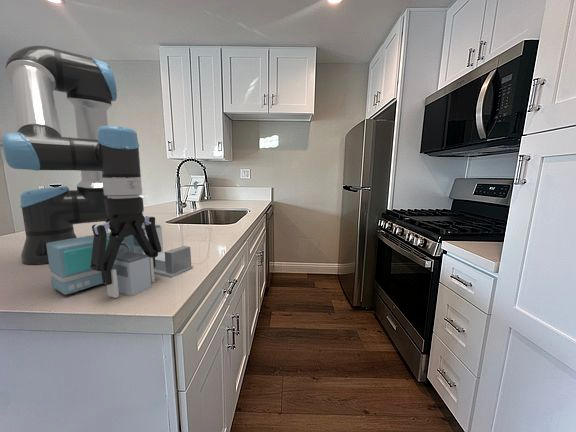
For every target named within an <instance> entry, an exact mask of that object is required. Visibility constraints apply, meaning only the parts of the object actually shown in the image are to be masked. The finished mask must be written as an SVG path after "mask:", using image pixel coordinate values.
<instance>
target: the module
mask: <svg viewBox="0 0 576 432" xmlns="http://www.w3.org/2000/svg"><path fill="white" fill-rule="evenodd" d="M112 269H115V270H116V274H117V284H118V293H120V294H124V295H128V296H130V297H133V296H135V295H138V294H140V293H142V292H144V291H147V290H149V289H151V288H152V282H151V276H150V264H149V257H148V255H144V254H139V253H134V252H126V253H123V254H119V255H117V256H116V259H115V262H114V264H113V267H112Z"/></svg>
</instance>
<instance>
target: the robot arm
mask: <svg viewBox="0 0 576 432" xmlns="http://www.w3.org/2000/svg"><path fill="white" fill-rule="evenodd" d="M5 74H6V78H7V79H8V81H9V82H10V84H11V85H12V89H13V90H12V91H13V92H12V93H13V104H14V115H15V117H14V118H15V128H16V132H5V133H3V135H2V137H1V139H2V148H3V154H4V158H5V162H6V164H7V165H8V167H10V168H12V169H16V170H29V171H30V170H31V171H36V172H37V171H38V172H39V171H77V172H78V171H79V172H81V173H80V175H81V180H80V181H79V182H78V183H77V184H76V190H75V189H74V190H73V189H72V190H70V188H69V186H67V185H65V186H64V185H63V186H52V187H46V188H45V187H44V188H43V187H42V188H35V189H29V190H26V191H23V192H22V193H21V194H20V209H21V212H22V219H23V224H24V225H23V226H24V231H25V232H24V233H25V241H24V244H23V247H22V251H21V255H20V259H21V263H22V264H25V265H44V264H45V265H46V264H49V260H48V254H47V247H46V243H48V242H54V241H60V240H66V239H72V238H78V236H77V235H76V233H75V230H74V225H78V224H80V225H81V224H90V223H100V222H101V224H93V225H92V226H91V230H92V233H93V234H92V235H94V240H93V248H92V257H91V266H90V268H91V269H92V270H96V271H101V273H102V281H103V283H102V284H103V285H106V290H107V296H108V297H110V298H114V299H117V298H119V296H120V294H119V293H120V292H118V284H117V274H116V270H115V269H112V267H113V264H114V262H115V259H116V256H117V253H118V250H119V248H120V245H121V242H122V241H123V240H124V238H125V237H128V236H130V235H133V236H134V237H135V238H136V240H137V242H138V243H139V245H140V246H141V248H142V250H143V251H144V253H145V254H146V255H148V257H149V264H150V276H151V283H155V274H154V268H155V266H156V264H155V257H157V256H158V252H161V250H162V249H161V245H160V242H159V238H158V235H157V231H156V227H155V225H156V218H155V217H154V216H150V215H149V216H148V215H147V216H144V214H143V213H144V210H145V209H144V199H143V197H141V195H142V194H143V187H142V176H141V163H140V161H141V160H140V149H139V148H140V143H139V139H138V133H137V132H136V130H134V129H133V128H130V127H125V126H118V125H117V126H116V125H108V110H109V109H110V108H112V106H113V104H112V102H116V101H117V99H118V95H117V93H118V91H117V83H116V79H115V75H114V73H113V70H112V68H111V67H110V65H109V64H108V63H107V62H105V61H102V60H100V59H96V58H93V56H92V57H90V56H86V55H82V54H79V53H73V52H69V51H66V50H61V49H59V48H58V49H57V48H54V47H51V46H47V45H29V46H27V47H23V48H20V49H18V50H16V51H15V52H13V53H12V54H11V55H10V56H9V57H8V59H7V61H6V63H5ZM54 91H56V92H61V93H65V94H66V100H67V101H69V103H71V104H72V105H73V109H74V117H75V129H76V137H67V136H63V135H62V132H61V131H62V130H61V126H60V122H59V116H58V112H57V105H56V101H55V95H54ZM102 222H103V223H102ZM143 224H144V225H145V230H146V233H147V237H148V239H147V237H146V236H145V232H144V230H143V228H142V225H143ZM109 230H110V232H111V233H110V236H109V243H108V245H107V248H106V240H107V234H106V233H109ZM116 236H118V237H116ZM148 240H149V241H148ZM105 249H106V251H105Z"/></svg>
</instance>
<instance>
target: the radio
mask: <svg viewBox="0 0 576 432" xmlns="http://www.w3.org/2000/svg"><path fill="white" fill-rule="evenodd" d="M110 233H111V231H110V232H109V231H108V232H107V233H106V234H107V240H106V248H107V245H108V243H109V236H110ZM116 237H118V236H116ZM93 240H94V234H91V235H87V236H86V235H85V236H80V237H79V236H77V238H72V239H66V240H60V241H54V242H48V243H46V247H47V254H48V260H49V263H48V267H49V273H50V279H51V286H52V287H53V288H54V289H55V290H57V291H58V292H60V293H61V294H63V295H64V296H65V295H69V294H71V295H76V294H78V293H79V291H82V290H85V289H89V288H91V287H95V286H99V285H102V284H103V281H102V273H101V271H96V270H92V269H91V268H90V266H91V257H92V248H93ZM105 251H106V249H105ZM126 252H134V242H133V235H130V236H128V237H125V238H124V240H123V241H122V242H121V245H120V248H119V250H118V253H117V255H119V254H123V253H126Z"/></svg>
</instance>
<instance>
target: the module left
mask: <svg viewBox="0 0 576 432" xmlns="http://www.w3.org/2000/svg"><path fill="white" fill-rule="evenodd" d="M155 227H156V231H157V235H158V238H159V242H160V245H161V249H162V250H161V252H164V244H163V241H164V240H163V230H162V225H161V224H155ZM142 228H143V230H144V232H145V236H146V237H147V233H146V230H145V225H144V224H143V225H142ZM147 239H148V237H147ZM148 241H149V240H148ZM133 242H134V253H139V254H144V255H146V254H145V253H144V251H143V250H142V248H141V246H140V245H139V243H138V242H137V240H136V238H135V237H134V236H133ZM158 253H160V252H158Z"/></svg>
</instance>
